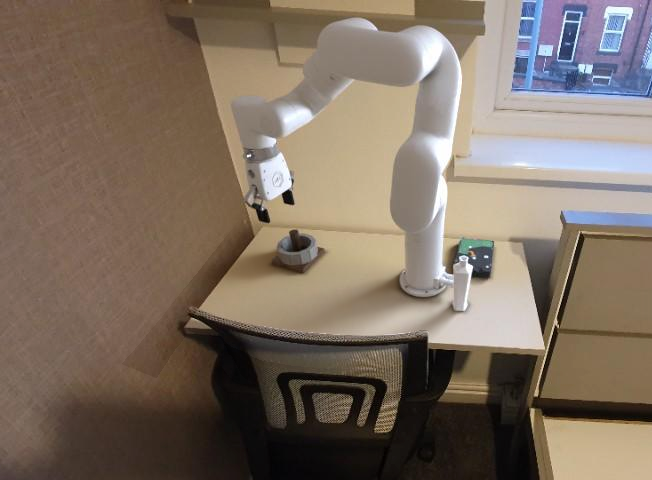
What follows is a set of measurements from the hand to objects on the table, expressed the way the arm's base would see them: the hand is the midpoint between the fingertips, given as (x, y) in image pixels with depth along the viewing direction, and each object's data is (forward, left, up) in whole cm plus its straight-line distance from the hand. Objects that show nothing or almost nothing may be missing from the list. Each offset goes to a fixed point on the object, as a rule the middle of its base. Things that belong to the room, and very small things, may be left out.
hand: (277, 212), depth 104 cm
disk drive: (-50, -18, -14) cm, 55 cm away
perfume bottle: (-52, +1, -14) cm, 54 cm away
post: (-4, 0, -14) cm, 15 cm away
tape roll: (-4, 0, -13) cm, 13 cm away
